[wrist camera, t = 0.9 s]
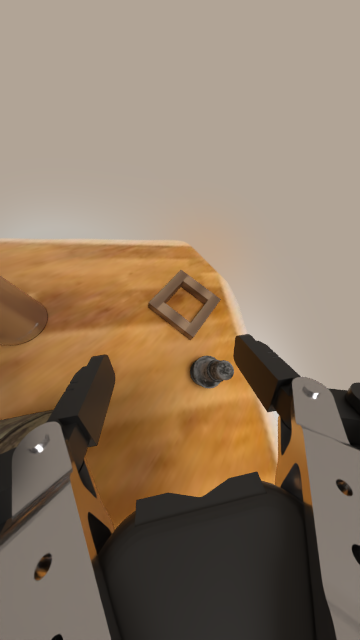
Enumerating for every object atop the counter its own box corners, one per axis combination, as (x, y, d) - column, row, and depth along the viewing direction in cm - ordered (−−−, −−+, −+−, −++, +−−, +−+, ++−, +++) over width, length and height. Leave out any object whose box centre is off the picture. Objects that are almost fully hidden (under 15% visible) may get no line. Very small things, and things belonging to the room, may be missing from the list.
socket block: (148, 307, 35) (148, 302, 33) (179, 275, 40) (181, 269, 37) (190, 340, 34) (193, 337, 32) (216, 303, 39) (220, 299, 37)
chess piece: (205, 352, 34) (233, 341, 23) (220, 376, 33) (257, 376, 22) (183, 367, 32) (202, 361, 21) (198, 393, 31) (227, 402, 20)
